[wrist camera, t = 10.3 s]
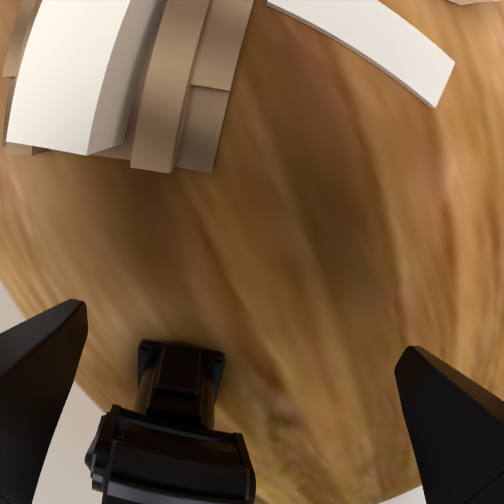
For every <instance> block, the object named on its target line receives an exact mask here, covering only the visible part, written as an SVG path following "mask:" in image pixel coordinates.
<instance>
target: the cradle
mask: <svg viewBox="0 0 504 504" xmlns="http://www.w3.org/2000/svg"><path fill="white" fill-rule="evenodd" d="M41 3H42V0H29V1H24V2H22V3H21V6H20V9H19V12H18V15H17V19H16V22H15V25H14V29H13V32H12V36H11V39H10V43H9V47H8V51H7V56H6V60H5V65H4V69H3V74H2V77H7V78H11V80H10V86H9V92H8V98H7V105H6V112H5V121H4V131H3V142H2V147H6V154H19V155H30V156H32V155H35V154H39V153H42V152H45V151H59V150H54V149H48V148H43V147H37V146H31V145H25V144H19V143H13V142H6V138H7V131H8V124H9V118H10V112H11V106H12V101H13V96H14V91H15V87H16V82H17V78H18V74H19V70H20V66H21V63H22V59H23V55H24V52H25V48H26V45H27V42H28V39H29V36H30V33H31V30H32V27H33V24H34V21H35V18H36V16H37V13H38V10H39V8H40V5H41ZM253 3H254V0H167V2H166V5H165V7H164V10H163V12H162V15H161V17H160V20H159V23H158V25H157V28H156V31H155V33H154V36H153V39H152V42H151V45H150V48H149V51H148V54H147V57H146V60H145V63H144V66H143V69H142V73H141V76H140V79H139V83H138V86H137V90H136V93H135V97H134V101H133V104H132V108H131V112H130V116H129V120H128V124H127V128H126V133H125V137H124V142H123V144H120V145H117V146H114V147H111V148H108V149H105V150H101V151H98V152H95V153H93V154H90V155H95V156H103V157H111V158H118V159H126V160H131V164H130V168H137V169H143V170H150V171H156V172H162V173H170V172H171V171H172V170H173V169H174V168H175V167H178V168H184V169H189V170H195V171H201V172H206V173H211V174H212V171H213V166H214V161H215V156H216V151H217V147H218V142H219V138H220V133H221V129H222V124H223V120H224V115H225V111H226V107H227V102H228V98H229V94H230V90H231V86H232V82H233V77H234V73H235V69H236V65H237V62H238V58H239V54H240V50H241V46H242V42H243V39H244V35H245V31H246V27H247V24H248V20H249V17H250V13H251V10H252V6H253ZM59 152H65V151H59ZM69 153H70V152H69Z"/></svg>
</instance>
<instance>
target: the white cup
mask: <svg viewBox="0 0 504 504" xmlns="http://www.w3.org/2000/svg"><path fill="white" fill-rule="evenodd" d="M448 1H451V2H453V3H456V4H458V5H467V4H475V3H479V2H485V1H488V2H495V1H504V0H448Z"/></svg>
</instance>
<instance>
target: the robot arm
mask: <svg viewBox="0 0 504 504" xmlns="http://www.w3.org/2000/svg"><path fill="white" fill-rule="evenodd" d="M87 334H88V320H87V307H86V303H85V302H84V301H80V300H76V299H68V300H66V301H64V302H62V303H60V304H58V305H56V306H54V307H52V308H50V309H48V310H46V311H44V312H42V313H40V314H38V315H36V316H34V317H32V318H30V319H28V320H26V321H24V322H22V323H20V324H18V325H16V326H14V327H12V328H10V329H8V330H7V331H4V332H2V333H1V334H0V504H32V501H33V497H34V494H35V489H36V487H37V483H38V480H39V476H40V473H41V470H42V467H43V464H44V460H45V457H46V454H47V451H48V448H49V446H50V443H51V440H52V437H53V434H54V431H55V428H56V426H57V423H58V420H59V418H60V415H61V413H62V410H63V407H64V405H65V402H66V400H67V397H68V394H69V392H70V389H71V387H72V384H73V381H74V378H75V374H76V371H77V367H78V364H79V361H80V357H81V354H82V351H83V348H84V344H85V341H86V338H87ZM143 346H145V347H147V348H145V347H143ZM217 359H221V360H217ZM224 365H225V356H224V354H222V353H218V352H211V351H204V350H198V349H191V348H185V347H179V346H173V345H168V344H162V343H157V342H152V341H146V340H143V341H141V342H140V344H139V347H138V394H137V399H136V403H135V407H134V411H131V410H128V409H125V408H121V406H119V405H116V404H113V405H112V408H111V411H110V412H107V414H106V415H103V416H102V417H101V421H100V424H99V427H98V430H97V433H96V436H95V438H94V440H93V441H92V444H91V446H90V448H89V449H88V451H87V453H86V456H85V463H86V465H87V467H88V468H89V470H90V471H91V478H92V489H93V490H96V491H99V492H103V498H102V504H254V499H255V493H256V479H255V473H254V470H253V467H252V464H251V461H250V458H249V454H248V451H247V448H246V445H245V442H244V439H243V435H242V434H241V433H235V432H234V433H227V432H221V431H216V430H214V405H215V401H216V397H217V393H218V389H219V385H220V381H221V377H222V373H223V369H224ZM394 373H395V378H396V382H397V387H398V392H399V396H400V401H401V406H402V411H403V415H404V419H405V422H406V426H407V429H408V433H409V436H410V440H411V443H412V447H413V451H414V454H415V458H416V462H417V466H418V470H419V474H420V478H421V482H422V486H423V490H424V495H425V500H426V504H504V401H502V400H501V399H500V398H498V397H497V396H495V395H494V394H492V393H491V392H489V391H488V390H486V389H485V388H483V387H481V386H480V385H478V384H477V383H475V382H474V381H472V380H471V379H469V378H468V377H466V376H465V375H463V374H462V373H460V372H459V371H457V370H456V369H454V368H453V367H451V366H450V365H448V364H447V363H445V362H443V361H442V360H440V359H439V358H437V357H436V356H434V355H433V354H431V353H430V352H428V351H427V350H425V349H424V348H422V347H420V346H408V347H407V348H406V349H405V351H404V352H403V354H402V356H401V357H400V359H399V361H398V362H397V364H396V366H395V370H394Z"/></svg>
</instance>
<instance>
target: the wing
mask: <svg viewBox="0 0 504 504" xmlns="http://www.w3.org/2000/svg"><path fill="white" fill-rule="evenodd" d="M266 5H267V6H269V7H271V8H273V9H276V10H278V11H280V12H282V13H284V14H286V15H288V16H290V17H292V18H294V19H296V20H298V21H300V22H302V23H304V24H306V25H308V26H310V27H312V28H314V29H316V30H317V31H319V32H321V33H323V34H325V35H326V36H328V37H330V38H332V39H333V40H335V41H337V42H338V43H340V44H342V45H343V46H345V47H347V48H348V49H350V50H352V51H353V52H355V53H356V54H358V55H359V56H361V57H363V58H364V59H366V60H367V61H369V62H370V63H372V64H373V65H375V66H376V67H377V68H379V69H380V70H382V71H383V72H385V73H386V74H387V75H389V76H390V77H392V78H393V79H394V80H396V81H397V82H398V83H400V84H401V85H402V86H404V87H405V88H406V89H407V90H409V91H410V92H411V93H413V94H414V95H415V96H416V97H418V98H419V99H420V100H421V101H423V102H424V103H425V104H426V105H427V106H429V107H430V108H436V105H437V103H438V101H439V99H440V97H441V94H442V92H443V90H444V88H445V85H446V83H447V81H448V78H449V76H450V74H451V71H452V69H453V67H454V64H455V62H454V61H453V60H452V59H451V58H450V57H449V56H448V55H446V54H445V53H444V52H443V51H442V50H441V49H440V48H439V47H437V46H436V45H435V44H434V43H433V42H432V41H431V40H429V39H428V38H427V37H426V36H425V35H423V34H422V33H421V32H420V31H418V30H417V29H416V28H415V27H413V26H412V25H411V24H409V23H408V22H407V21H406V20H404V19H403V18H402V17H400V16H399V15H397V14H396V13H395V12H393V11H392V10H390V9H389V8H388V7H386V6H385V5H383V4H382V3H380V2H379V1H377V0H268V1H267V3H266Z"/></svg>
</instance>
